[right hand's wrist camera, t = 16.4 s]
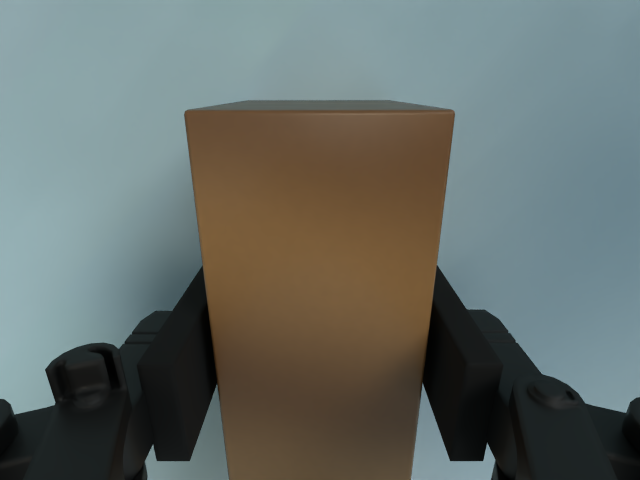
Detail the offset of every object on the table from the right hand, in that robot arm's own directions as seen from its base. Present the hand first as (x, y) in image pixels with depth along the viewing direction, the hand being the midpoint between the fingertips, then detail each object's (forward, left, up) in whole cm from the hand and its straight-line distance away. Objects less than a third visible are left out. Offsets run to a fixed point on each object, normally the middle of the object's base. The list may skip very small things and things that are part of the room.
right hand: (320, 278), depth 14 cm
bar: (+21, +9, -2) cm, 23 cm away
